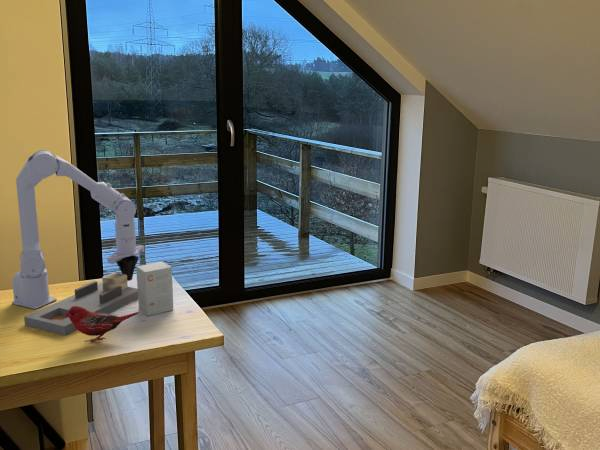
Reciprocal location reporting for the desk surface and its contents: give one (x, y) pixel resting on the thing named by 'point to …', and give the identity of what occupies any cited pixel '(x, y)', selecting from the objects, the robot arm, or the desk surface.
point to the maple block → (114, 281)
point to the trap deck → (84, 297)
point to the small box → (154, 288)
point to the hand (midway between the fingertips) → (128, 279)
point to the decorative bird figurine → (94, 322)
